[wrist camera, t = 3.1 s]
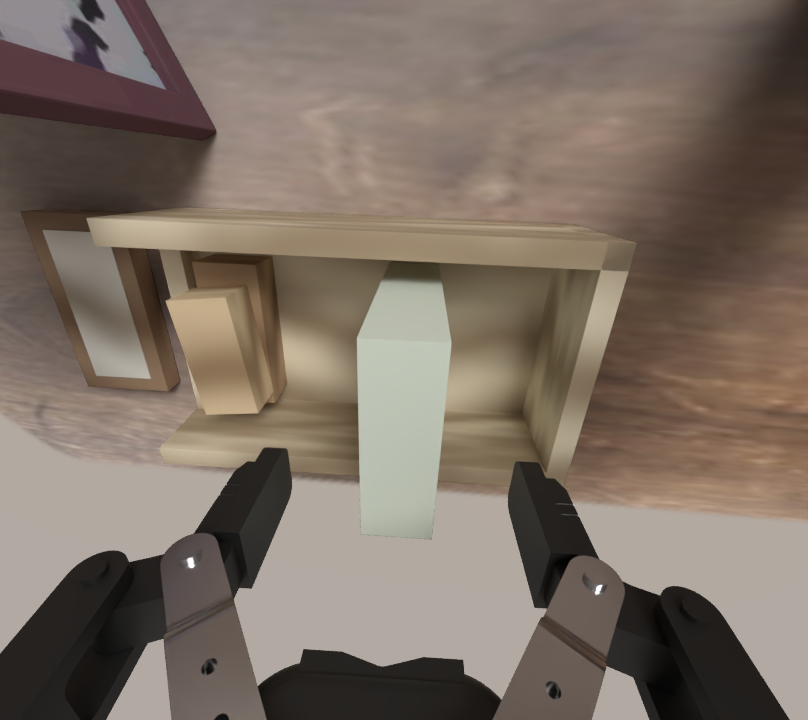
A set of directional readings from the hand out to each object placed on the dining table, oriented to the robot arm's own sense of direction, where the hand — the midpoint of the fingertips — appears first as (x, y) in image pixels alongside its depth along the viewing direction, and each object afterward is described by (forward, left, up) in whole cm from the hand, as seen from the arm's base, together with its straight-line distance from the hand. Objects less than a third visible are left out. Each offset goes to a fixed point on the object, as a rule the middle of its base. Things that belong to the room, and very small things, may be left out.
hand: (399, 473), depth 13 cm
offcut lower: (0, -11, -13) cm, 16 cm away
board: (-1, -21, -14) cm, 25 cm away
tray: (0, -3, -14) cm, 14 cm away
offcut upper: (0, -11, -10) cm, 15 cm away
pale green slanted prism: (0, 0, -13) cm, 13 cm away
